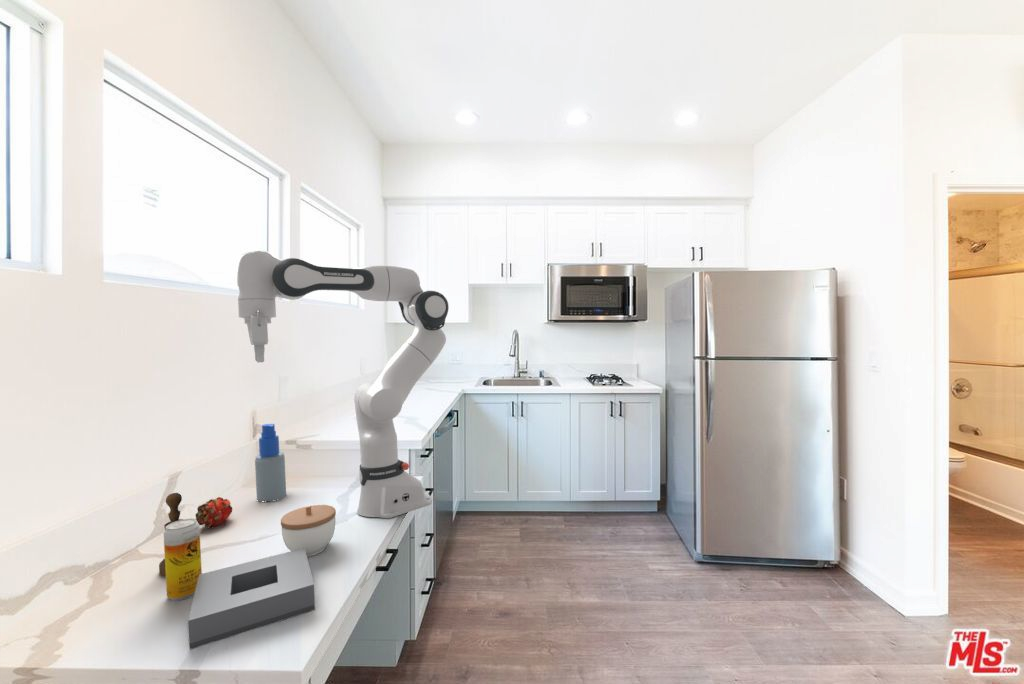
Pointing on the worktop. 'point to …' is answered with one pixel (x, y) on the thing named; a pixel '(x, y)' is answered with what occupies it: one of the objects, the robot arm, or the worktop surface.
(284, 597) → the can dock
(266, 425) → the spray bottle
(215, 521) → the dragon fruit
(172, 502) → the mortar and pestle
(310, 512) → the lidded bowl
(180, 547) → the beer can
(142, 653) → the worktop surface
